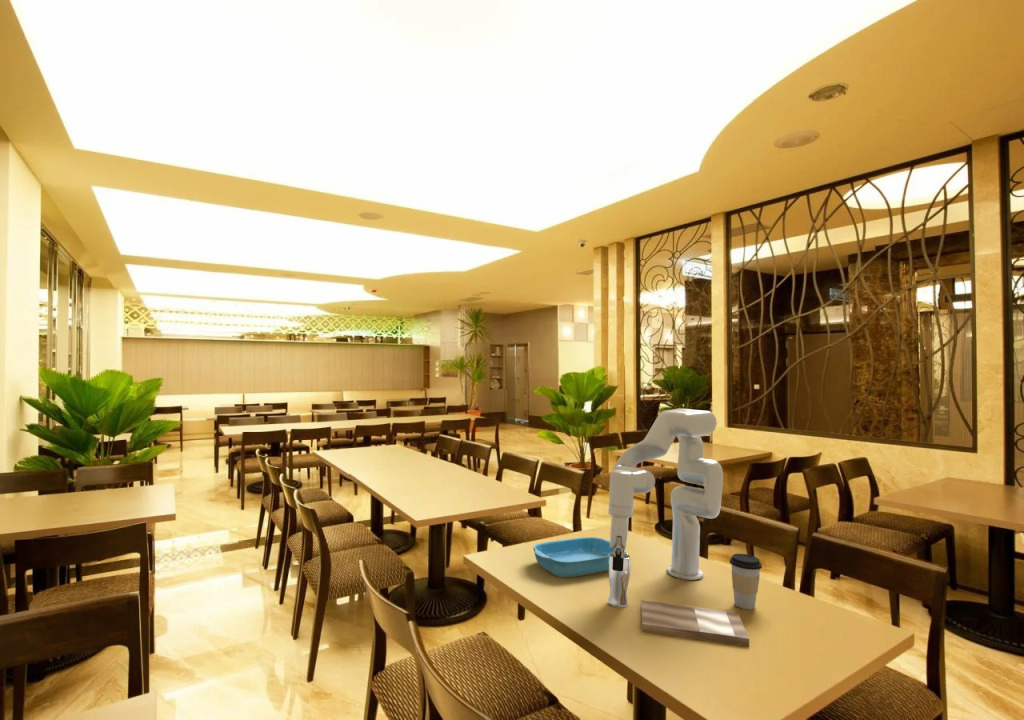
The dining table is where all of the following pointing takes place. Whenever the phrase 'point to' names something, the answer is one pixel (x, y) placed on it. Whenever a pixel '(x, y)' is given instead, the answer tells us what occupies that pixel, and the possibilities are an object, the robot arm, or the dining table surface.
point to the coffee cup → (745, 579)
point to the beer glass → (618, 582)
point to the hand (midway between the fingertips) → (618, 565)
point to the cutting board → (693, 622)
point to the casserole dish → (574, 556)
